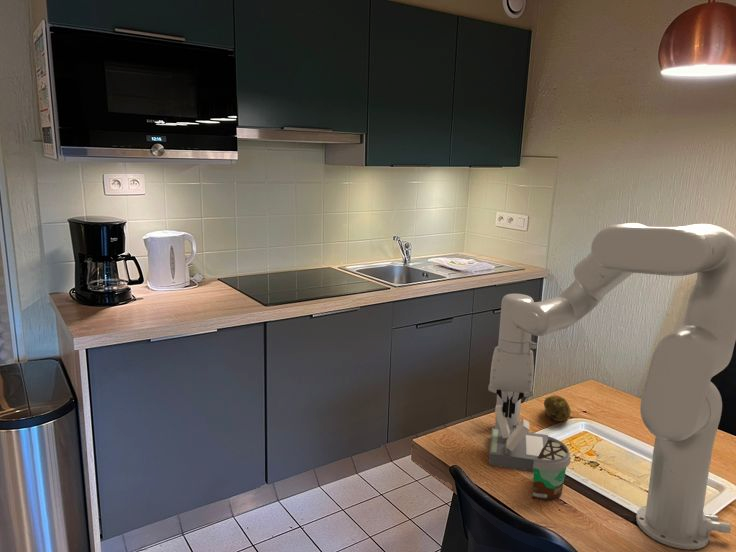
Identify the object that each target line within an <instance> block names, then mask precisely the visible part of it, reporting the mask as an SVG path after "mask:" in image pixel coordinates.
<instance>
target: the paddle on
mask: <svg viewBox="0 0 736 552" xmlns="http://www.w3.org/2000/svg"><path fill="white" fill-rule="evenodd" d="M502 410H503V407H502V405H498V406H496V405H495V409H494V413H495V418H496V417H497V420H498V424H499V427H500V430H501V433H502V437H503V438H506V441H505V442H506V443H507V439H508V438H509V437H510V430H509V426H508V423H507V420H506V417H505V413H504V412H503V411H502Z"/></svg>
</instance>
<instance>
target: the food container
mask: <svg viewBox="0 0 736 552" xmlns="http://www.w3.org/2000/svg"><path fill="white" fill-rule="evenodd" d="M570 453H571V452H570V450H569V447H568V446H567V445H566V444H565V443H564V442H563V441H561V440H559V439H556V438H554V437H551V436H549V435H548V441H547V443H546V445H545V446H544V447H543V448H542V450H541V452H540V454H539V456H538V458H534V464H533V468H534V471H533V474H532V475H533V477H532V496H531V499H533V500H535V501H542V502H551V501H556V500H558V499H559V498H561V496H562V494H563V488H564V483H565V477H566V472H567V467H568V466H569V465H570V464H571V454H570Z"/></svg>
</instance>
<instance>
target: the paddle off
mask: <svg viewBox="0 0 736 552" xmlns="http://www.w3.org/2000/svg"><path fill="white" fill-rule="evenodd" d="M529 431H530V422H529V421H528V420H526V419H524V418H522V420H521V421H519V425H518V426H517V428H516V429H515V430H514V431H513V433H512V434H511V435H510V437H509V438H508V439H507V443H506V444H505V454H506V455H508V454H509V450H511V451H513V450H514V449H515V447H516V446H517V445H518V444H519V442H520V441H521V440H522V439H523V437H524V436H525V435H526V434H527V432H528V433H529Z"/></svg>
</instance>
